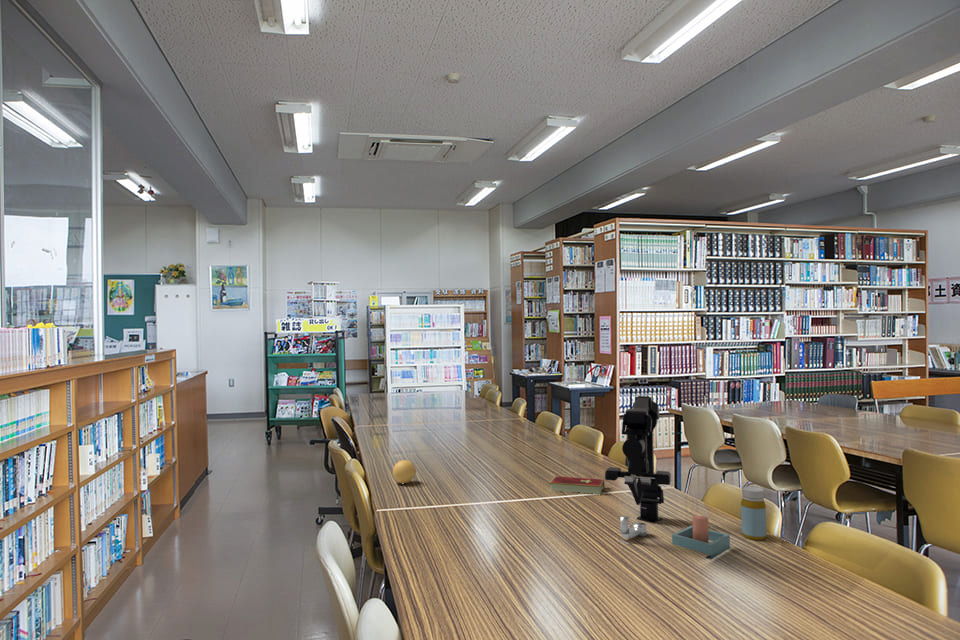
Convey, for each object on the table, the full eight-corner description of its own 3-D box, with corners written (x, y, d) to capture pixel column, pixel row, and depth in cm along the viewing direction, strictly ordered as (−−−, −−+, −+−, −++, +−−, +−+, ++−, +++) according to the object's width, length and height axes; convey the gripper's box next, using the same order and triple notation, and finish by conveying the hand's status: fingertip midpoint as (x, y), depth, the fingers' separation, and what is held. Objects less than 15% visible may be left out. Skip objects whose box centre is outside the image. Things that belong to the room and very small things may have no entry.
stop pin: (697, 541, 175) (697, 514, 175) (711, 545, 171) (710, 517, 172) (690, 544, 172) (689, 517, 172) (704, 548, 168) (703, 521, 169)
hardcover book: (555, 485, 247) (554, 475, 248) (604, 488, 241) (604, 478, 241) (549, 492, 236) (549, 482, 236) (601, 496, 229) (601, 485, 230)
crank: (637, 530, 183) (637, 508, 183) (649, 534, 180) (648, 511, 180) (616, 539, 175) (616, 516, 175) (628, 543, 172) (627, 519, 172)
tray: (691, 538, 180) (691, 525, 180) (729, 548, 171) (729, 534, 171) (672, 548, 172) (672, 534, 172) (711, 559, 163) (710, 545, 163)
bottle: (752, 541, 176) (751, 492, 177) (736, 534, 183) (735, 487, 183) (771, 539, 178) (770, 490, 178) (755, 532, 185) (754, 485, 185)
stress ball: (403, 489, 245) (420, 472, 248) (388, 471, 246) (405, 455, 248) (402, 487, 255) (419, 471, 257) (387, 470, 255) (404, 454, 258)
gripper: (671, 449, 177) (672, 500, 176) (610, 445, 184) (611, 494, 183) (668, 456, 166) (670, 510, 166) (604, 452, 174) (605, 504, 173)
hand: (638, 504), depth 172 cm, fingers closed
